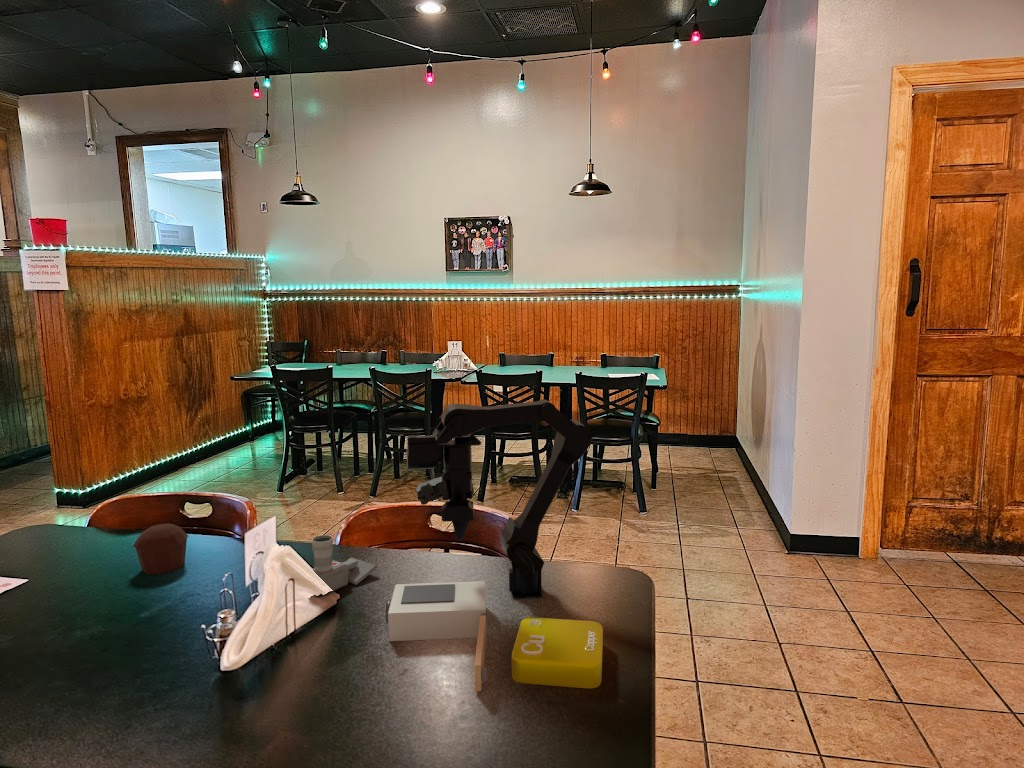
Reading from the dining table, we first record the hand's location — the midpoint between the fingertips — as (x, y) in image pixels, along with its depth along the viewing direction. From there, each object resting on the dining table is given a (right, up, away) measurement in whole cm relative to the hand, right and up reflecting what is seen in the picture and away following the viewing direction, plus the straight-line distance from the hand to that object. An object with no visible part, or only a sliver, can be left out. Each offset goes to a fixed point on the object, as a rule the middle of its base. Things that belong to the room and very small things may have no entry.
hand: (459, 539), depth 136 cm
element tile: (+19, -17, -21) cm, 33 cm away
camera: (-28, -12, +10) cm, 32 cm away
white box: (-3, -14, -8) cm, 17 cm away
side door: (+6, -16, -22) cm, 28 cm away
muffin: (-72, -11, +20) cm, 76 cm away
